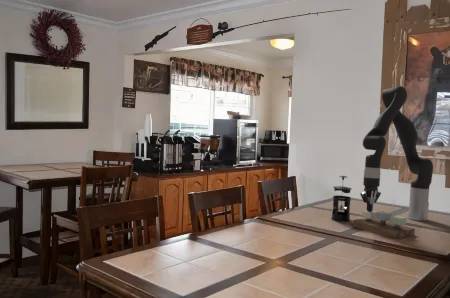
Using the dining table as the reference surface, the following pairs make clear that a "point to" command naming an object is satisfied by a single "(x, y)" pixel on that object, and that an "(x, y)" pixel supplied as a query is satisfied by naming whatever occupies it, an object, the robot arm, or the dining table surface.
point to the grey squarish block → (383, 217)
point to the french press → (341, 215)
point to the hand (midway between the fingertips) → (369, 211)
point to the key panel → (383, 228)
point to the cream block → (369, 215)
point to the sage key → (398, 221)
